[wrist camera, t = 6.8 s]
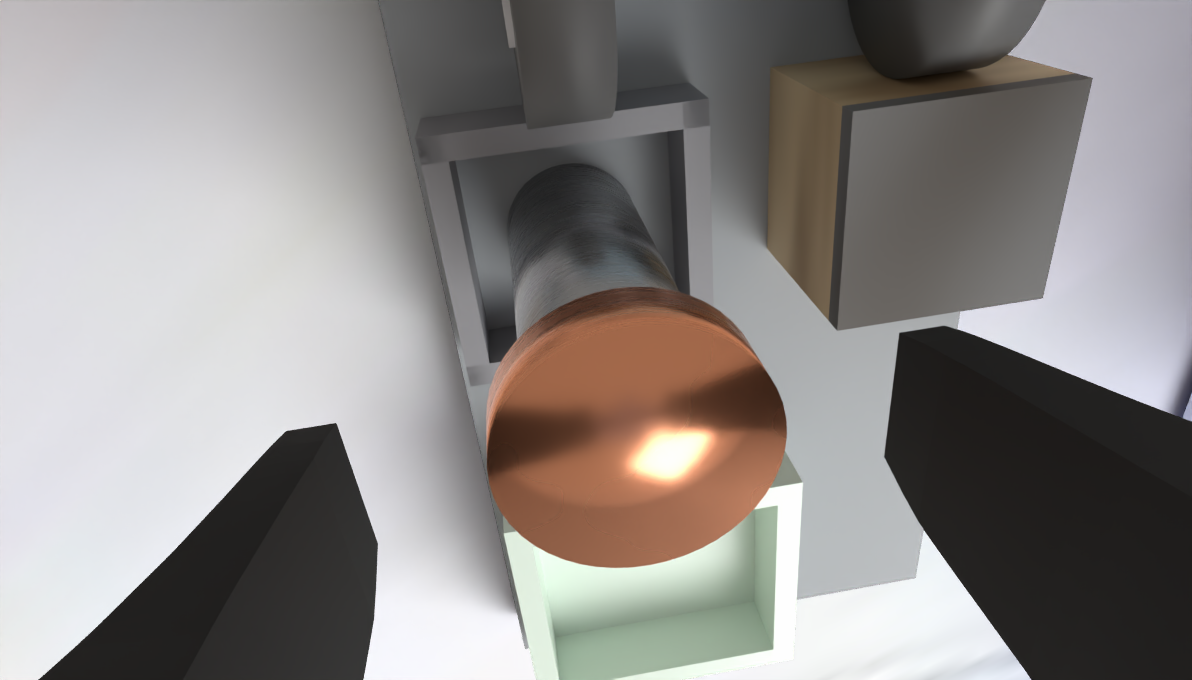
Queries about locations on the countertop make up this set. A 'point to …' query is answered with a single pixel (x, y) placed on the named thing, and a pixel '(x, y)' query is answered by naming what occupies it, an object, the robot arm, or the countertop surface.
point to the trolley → (878, 13)
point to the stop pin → (620, 389)
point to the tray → (668, 602)
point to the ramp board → (667, 228)
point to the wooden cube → (919, 184)
